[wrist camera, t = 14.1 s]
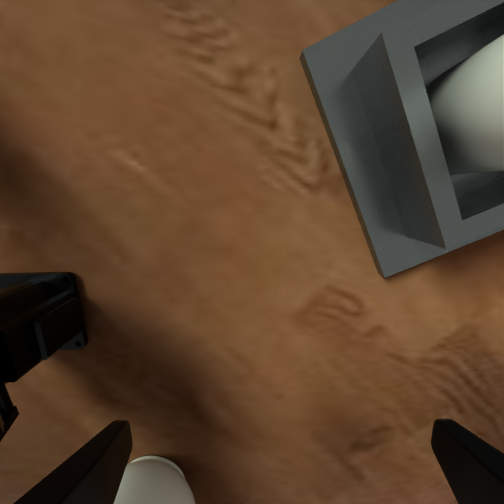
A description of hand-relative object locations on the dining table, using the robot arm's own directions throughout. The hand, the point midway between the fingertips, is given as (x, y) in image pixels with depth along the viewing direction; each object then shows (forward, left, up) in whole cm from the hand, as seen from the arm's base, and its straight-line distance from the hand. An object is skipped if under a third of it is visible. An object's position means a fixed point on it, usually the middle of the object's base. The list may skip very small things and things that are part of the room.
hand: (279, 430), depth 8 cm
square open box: (+13, +11, -13) cm, 21 cm away
